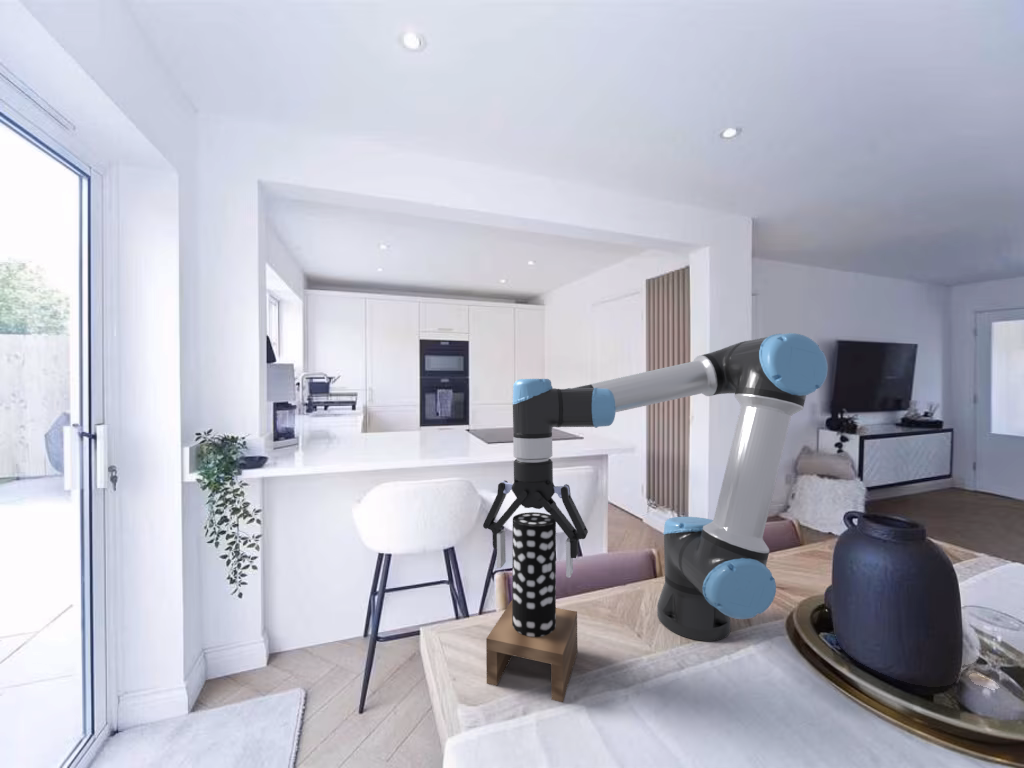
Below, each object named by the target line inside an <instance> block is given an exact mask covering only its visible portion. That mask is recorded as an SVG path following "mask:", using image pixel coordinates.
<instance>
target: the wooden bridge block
mask: <svg viewBox="0 0 1024 768" xmlns="http://www.w3.org/2000/svg"><path fill="white" fill-rule="evenodd" d="M485 645H486V648H485V649H486V651H485V652H486V654H485V655H486V659H485V660H486V662H485V663H486V684H488V685H492V686H496V687H497V686H498V684H499V682H500V681H501V679H502V677H503V675H504V673H505V671H506V670H507V667H508V665H509V663H510V662H511V660H512V659H513V657H519V658H522V659H527V660H532V661H536V662H539V663H540V662H541V663H544V664H545V663H546V664H550V669H551V670H550V671H551V675H550V676H551V677H550V679H551V682H550V683H551V684H550V685H551V688H550V689H551V691H550V692H551V693H550V695H551V700H552V701H556V702H560V703H564V700H565V697H566V693H567V689H568V686H569V684H570V679H571V676H572V672H573V669H574V665H575V662H576V658H577V654H578V611H575V610H569V609H564V608H558V607H556V627H555V629H554V630H553V631H552V632H551V633H549V634H548V635H545V636H540V637H531V636H526V635H523V634H521V633H519V632H517V631H516V630H515V629H514V627H513V625H512V600H511V601H510V602H509V604H508V605H507V607H506V608H505V609H504V611H503V613H502V614H501V615H500V618H499V619H498V620H497V622H496V623H495V625H494V626H493V628H492V629H491V631H490V632H489V634H488V635H487V637H486V642H485Z"/></svg>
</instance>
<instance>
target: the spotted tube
mask: <svg viewBox="0 0 1024 768" xmlns="http://www.w3.org/2000/svg"><path fill="white" fill-rule="evenodd" d="M556 562H557V522H556V521H555V520H554V519H553V517H552V516H551V515H550V513H549V514H548V513H543V512H534V511H533V512H532V511H531V512H522V513H518V514H516V515H514V516H513V517H512V570H511V571H512V573H511V574H512V576H511V579H512V581H511V582H512V586H511V587H512V590H511V591H512V593H511V594H512V595H511V596H512V600H511V601H512V625H513V627H514V629H515V630H516V631H517V632H519V633H521V634H523V635H526V636H531V637H540V636H545V635H548V634H549V633H551V632H552V631H553V630H554V629H555V627H556V608H557V607H556V605H557V604H556V602H557V601H556V598H557V597H556V595H557V594H556V593H557V591H556V590H557V588H556V587H557V586H556V585H557V581H556V580H557V577H556V575H557V570H556V569H557V567H556V566H557V563H556Z"/></svg>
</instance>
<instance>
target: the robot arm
mask: <svg viewBox="0 0 1024 768" xmlns="http://www.w3.org/2000/svg"><path fill="white" fill-rule="evenodd" d="M828 367H829V366H828V360H827V357H826V354H825V353H824V351H823V350H822V349H820V346H819V345H818V343H817V342H816V341H814V340H813V339H812V338H811V337H809V336H806V335H804V334H801V333H800V334H799V333H792V332H789V333H776V334H772V335H769V336H765V337H761V338H755V339H751V340H750V339H749V340H744V341H741V342H737V343H735V344H732V345H729V346H726V347H724V348H721V349H718V350H714V351H712V352H709V353H705V354H701V355H697V356H695V358H694V360H693V361H690V362H685V363H680V364H679V363H678V364H675V365H671V366H666V367H661V368H658V369H653V370H649V371H643V372H639V373H635V374H629V375H626V376H620V377H617V378H612V379H608V380H607V379H606V380H604V381H603V380H602V381H599V382H594V383H589V384H585V385H582V386H581V385H580V386H576V387H572V388H571V387H569V388H553V386H552V381H551V379H549V378H524V379H523V378H521V379H517V380H515V382H514V383H513V384H512V385H513V386H512V389H513V390H512V427H513V428H512V429H513V434H512V435H513V437H512V438H513V442H512V445H513V446H512V447H513V457H514V458H516V459H514V461H513V483H510V482H508V481H507V480H503V481H500V482H499V484H497V494H496V497H495V498H494V500H493V503H492V504H491V507H490V509H489V511H488V513H487V515H486V518H485V520H484V522H483V523H482V527H483V528H484V529H485V530H490V531H491V533H492V547H493V549H496V566H497V567H496V568H497V569H498V568H499V569H501V568H502V567H504V566H505V563H506V556H507V555H506V554H507V553H506V529H502V528H503V526H504V525H505V524H506V523H507V522H508V520H509V519H510V518H511V517H512V516H513V515H514V513H515V512H516V511H517V510H518V508H520V506H522V507H524V509H531V508H533V509H536V510H537V509H538V510H541V509H544V510H545V512H547V514H548V513H549V515H551V516H552V517H553V519H554V520H555V521H556V525H558V526H559V528H560V529H561V530H562V532H563V533H564V534H565V535H566V536H567V539H566V540H565V575H566V578H570V579H571V578H572V577H571V576H572V575H573V572H574V559H577V557H578V555H579V540H584V539H586V537H587V535H588V532H589V530H588V528H587V526H586V525H585V522H584V521H583V518H582V516H581V514H580V512H579V510H578V508H577V506H576V504H575V501H574V500H573V498H572V495H571V488H570V485H569V484H567V483H566V484H564V485H560V486H555V485H554V476H553V475H554V474H553V473H554V471H553V470H554V469H553V464H554V463H553V460H552V457H553V428H599V427H601V428H603V427H609V426H611V425H612V424H613V423H614V421H615V417H616V413H619V412H624V411H627V410H633V409H637V408H641V407H646V406H650V405H655V404H659V403H665V402H669V401H673V400H679V399H683V398H686V397H691V396H696V395H700V394H702V395H704V396H705V397H712V396H717V395H722V394H724V395H725V394H734V398H735V399H736V401H737V402H738V403H739V405H740V406H739V407H740V408H739V413H738V416H737V417H738V418H737V421H736V424H735V425H736V426H735V428H734V429H735V430H734V434H733V438H732V441H731V446H730V450H729V454H728V458H727V462H726V467H725V470H724V475H723V479H722V483H721V487H720V492H719V495H718V499H717V504H716V507H715V511H714V517H713V519H710V518H704V517H698V516H673V517H670V518H667V519H666V520H665V522H664V524H663V525H664V526H663V527H664V529H663V533H662V534H663V546H664V547H663V550H664V552H663V553H664V557H663V558H664V584H663V587H662V590H661V592H660V595H659V598H658V601H657V605H656V607H657V608H656V609H657V611H656V613H657V618H658V620H659V622H660V624H662V626H664V627H665V628H666V629H668V630H670V631H671V632H673V633H675V634H677V635H680V636H681V637H685V638H688V639H691V640H697V641H703V642H705V641H707V642H711V641H712V642H713V641H719V640H722V639H725V638H726V637H727V636H728V635H730V632H731V618H732V619H737V620H749V619H752V618H755V617H756V616H757V615H758V614H759V615H762V614H763V613H764V612H766V611H767V610H768V609H769V607H770V606H771V605H772V603H773V601H774V599H775V597H776V592H777V583H776V580H775V578H774V576H773V573H772V572H771V570H770V569H769V568H768V567H767V563H768V558H769V555H770V548H769V546H768V545H767V543H766V542H765V541H764V533H765V530H766V529H765V528H766V524H767V522H768V521H767V520H768V517H769V512H770V508H771V503H772V499H773V494H774V490H775V487H776V481H777V478H778V473H779V470H780V465H781V461H782V457H783V453H784V448H785V445H786V440H787V436H788V432H789V427H790V423H791V419H792V417H793V416H794V414H797V413H800V412H801V411H803V410H804V406H805V403H806V398H807V396H809V395H810V394H813V393H815V391H817V389H820V388H822V386H823V384H824V383H825V381H826V379H827V376H828V369H829V368H828ZM511 491H512V492H513V494H514V496H515V497H516V498H515V499H514V501H513V502H512V503H511V505H509V507H508V508H507V509H506V510H505V512H504V513H502V515H501V516H500V517H499V519H498V520H497V522H495V520H496V518H497V516H498V514H499V513H500V509H501V507H502V505H503V503H504V501H505V499H506V497H507V495H508V494H509V493H511ZM555 494H556V495H557V496H558V498H559V499H561V501H562V503H563V506H564V508H565V510H566V512H567V514H568V516H569V518H570V519H571V522H570V521H569V519H568V518H567V517H566V515H565V514H564V513H563V512H562V510H561V509H560V508H559V507H558V506H557V503H556V501H555V500H554V499H553V496H554V495H555Z"/></svg>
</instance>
